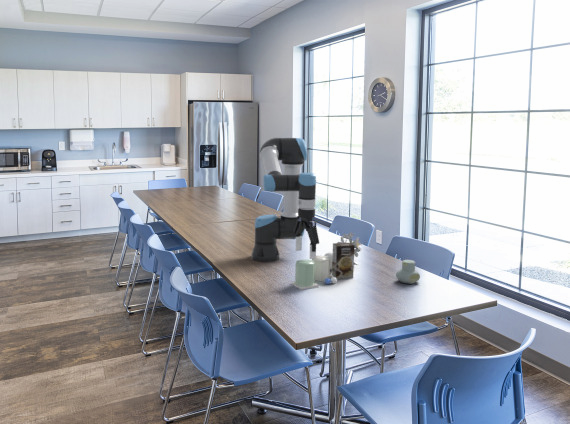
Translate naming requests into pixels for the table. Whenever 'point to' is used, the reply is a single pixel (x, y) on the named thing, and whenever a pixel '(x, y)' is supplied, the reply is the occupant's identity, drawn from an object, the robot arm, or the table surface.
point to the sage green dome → (305, 273)
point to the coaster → (305, 286)
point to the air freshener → (408, 272)
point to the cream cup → (322, 267)
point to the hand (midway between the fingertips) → (305, 254)
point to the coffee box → (343, 260)
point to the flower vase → (345, 242)
